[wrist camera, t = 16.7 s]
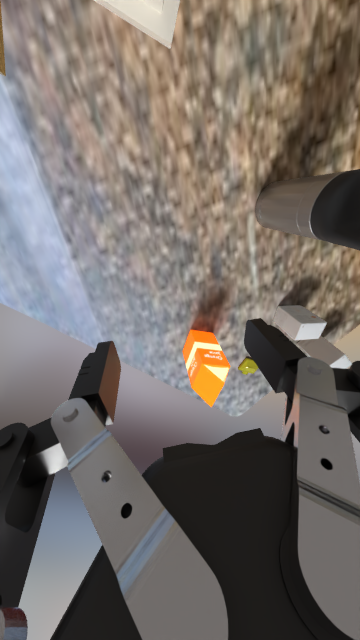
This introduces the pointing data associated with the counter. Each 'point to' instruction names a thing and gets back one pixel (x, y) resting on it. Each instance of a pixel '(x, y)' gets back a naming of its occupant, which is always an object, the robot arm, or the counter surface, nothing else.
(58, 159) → the counter surface
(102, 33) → the counter surface
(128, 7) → the mount
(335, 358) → the supplement box
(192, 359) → the orange juice
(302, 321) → the small box
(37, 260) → the counter surface
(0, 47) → the gold block
